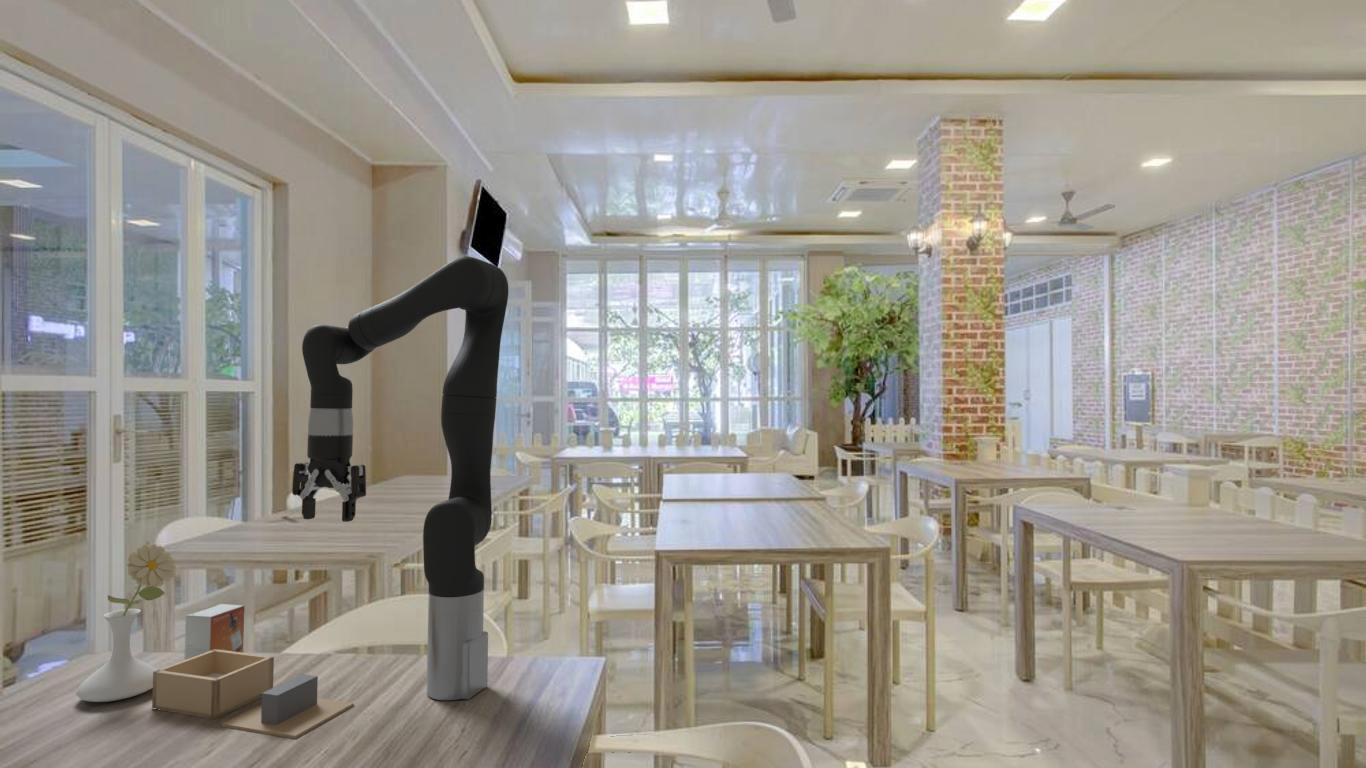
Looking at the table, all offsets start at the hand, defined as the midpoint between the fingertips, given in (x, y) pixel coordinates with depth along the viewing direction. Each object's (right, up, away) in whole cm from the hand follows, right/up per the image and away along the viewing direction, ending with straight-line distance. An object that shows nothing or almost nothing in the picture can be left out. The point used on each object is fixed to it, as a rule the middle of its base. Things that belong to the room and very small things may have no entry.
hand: (328, 519), depth 131 cm
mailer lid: (+3, -28, -19) cm, 34 cm away
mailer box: (-12, -28, -13) cm, 33 cm away
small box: (-22, -28, +2) cm, 36 cm away
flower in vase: (-29, -28, -11) cm, 42 cm away
